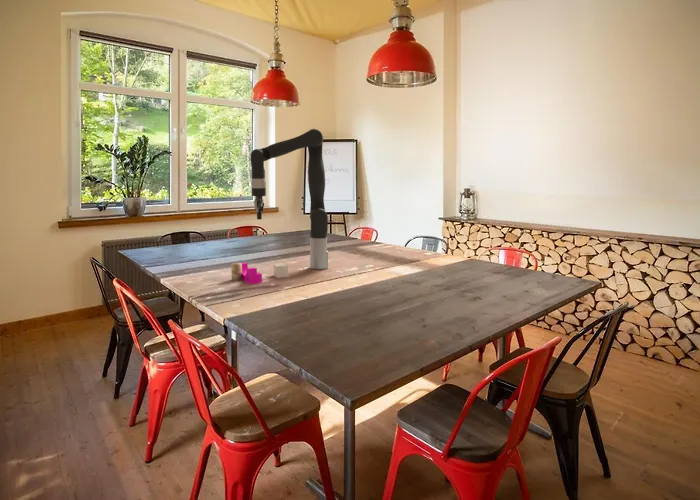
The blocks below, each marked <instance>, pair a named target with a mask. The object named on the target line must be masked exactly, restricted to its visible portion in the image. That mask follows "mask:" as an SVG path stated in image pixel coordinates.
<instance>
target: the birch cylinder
mask: <svg viewBox="0 0 700 500" xmlns="http://www.w3.org/2000/svg"><path fill="white" fill-rule="evenodd" d="M241 263H242V262H241ZM241 263H240V262H233V263H231V264H230V266H231V267H230V269H231V272H230V273H231V281H232V282H241V281H243V280H242V264H241Z"/></svg>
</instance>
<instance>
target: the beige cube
mask: <svg viewBox="0 0 700 500" xmlns="http://www.w3.org/2000/svg"><path fill="white" fill-rule="evenodd" d="M272 265H273V276H274V277H275V278H277V279H278V278H279V279H281V278H289V265H288V264H287V263H285V262H283V263H274V264H272Z"/></svg>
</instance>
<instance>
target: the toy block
mask: <svg viewBox="0 0 700 500" xmlns="http://www.w3.org/2000/svg"><path fill="white" fill-rule="evenodd" d="M241 264H242V280H241V281H244V282H245V283H246V284H248V285H255V284H262V283H263V275H262V273H261V272H258V271H257V270H258V268H256V267H249V264H248V263H247V262H241Z"/></svg>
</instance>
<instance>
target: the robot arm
mask: <svg viewBox="0 0 700 500" xmlns="http://www.w3.org/2000/svg"><path fill="white" fill-rule="evenodd" d="M323 141H324V135H323V133H322V131H321V130H319V129H318V128H311V129H309V130H307V131H306V132H304V133H302V134H300V135H298V136H295V137H292V138H289V139H286V140H282V141H279V142H275V143H272V144H269V145H268V146H266V147H262V148H257V149H256V148H255V149H253V150H252V151H251V152H250V165H251V196H252V197H254V198H255V199H254V201H253V204H254V210H255V213H256V219H257V220H262V215H263V214H262V213H263V212H264V208H265V202H264V199H263V197H266V195H267V188H266V187H267V186H266V185H267V183H266V182H267V181H266V171H265V170H266V169H265V162H266V161H269V160H271V159H274V158H278V157H282V156H284V155H287V154H289V153H292V152H294V151H297V150H300V149H304V148H307V150H308V162H307V165H308V166H307V179H308V180H307V183H308V190H309V192H308V193H309V197H310V210H309V219H310V233H309V236H310V238H309V239H310V242H309V243H310V247H309V248H310V249H309V255H310V256H309V258H310V259H309V260H310V262H309V267H310V269H312V270H325V269H328V268H329V251H328V231H329V230H328V228H329V226H328V225H329V223H328V222H329V217H328V213H327V212H326V209H325V208H326V207H325V199H324V198H325V191H326V189H325V188H326V171H325V164H324V159H323V146H324V145H323V144H324V143H323Z"/></svg>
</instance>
